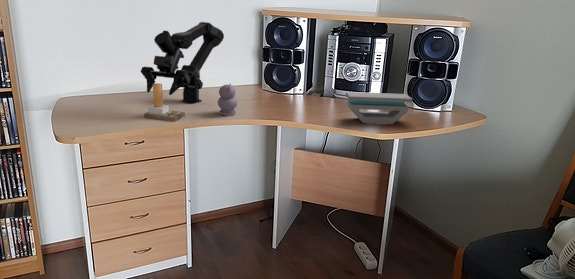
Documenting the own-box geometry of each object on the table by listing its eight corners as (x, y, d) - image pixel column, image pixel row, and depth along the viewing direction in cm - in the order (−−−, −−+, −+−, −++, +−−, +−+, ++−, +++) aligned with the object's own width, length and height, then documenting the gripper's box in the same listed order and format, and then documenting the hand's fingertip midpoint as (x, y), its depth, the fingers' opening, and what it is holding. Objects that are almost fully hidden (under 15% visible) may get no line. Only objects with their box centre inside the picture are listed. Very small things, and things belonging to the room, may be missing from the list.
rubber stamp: (154, 109, 171) (153, 82, 168) (168, 111, 170) (167, 83, 167) (148, 113, 167) (146, 84, 163) (162, 114, 166) (161, 86, 162)
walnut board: (154, 112, 174) (154, 108, 173) (184, 115, 171) (184, 112, 171) (144, 117, 166) (143, 113, 166) (175, 121, 164) (175, 117, 163)
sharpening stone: (346, 123, 173) (349, 96, 169) (343, 117, 180) (345, 91, 177) (408, 125, 175) (412, 98, 171) (402, 119, 182) (406, 94, 178)
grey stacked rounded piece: (218, 110, 180) (218, 82, 176) (237, 111, 181) (237, 82, 177) (217, 116, 172) (216, 86, 168) (236, 117, 173) (237, 87, 169)
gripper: (141, 45, 168) (127, 78, 162) (186, 49, 165) (173, 83, 158) (153, 63, 178) (140, 95, 172) (195, 67, 174) (183, 100, 168)
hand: (158, 93), depth 167 cm, fingers open, 9 cm apart
